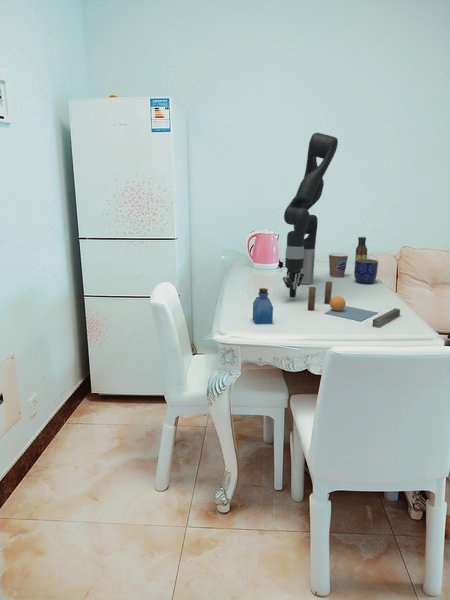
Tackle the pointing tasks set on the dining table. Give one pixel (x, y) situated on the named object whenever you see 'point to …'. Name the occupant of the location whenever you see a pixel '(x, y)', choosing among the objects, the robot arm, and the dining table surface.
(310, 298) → the post
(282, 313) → the dining table surface
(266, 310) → the perfume bottle
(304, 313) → the dining table surface
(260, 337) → the dining table surface
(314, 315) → the dining table surface
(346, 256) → the coffee cup
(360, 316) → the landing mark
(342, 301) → the ball
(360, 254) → the sauce bottle
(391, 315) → the wall
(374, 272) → the planter
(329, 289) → the post
